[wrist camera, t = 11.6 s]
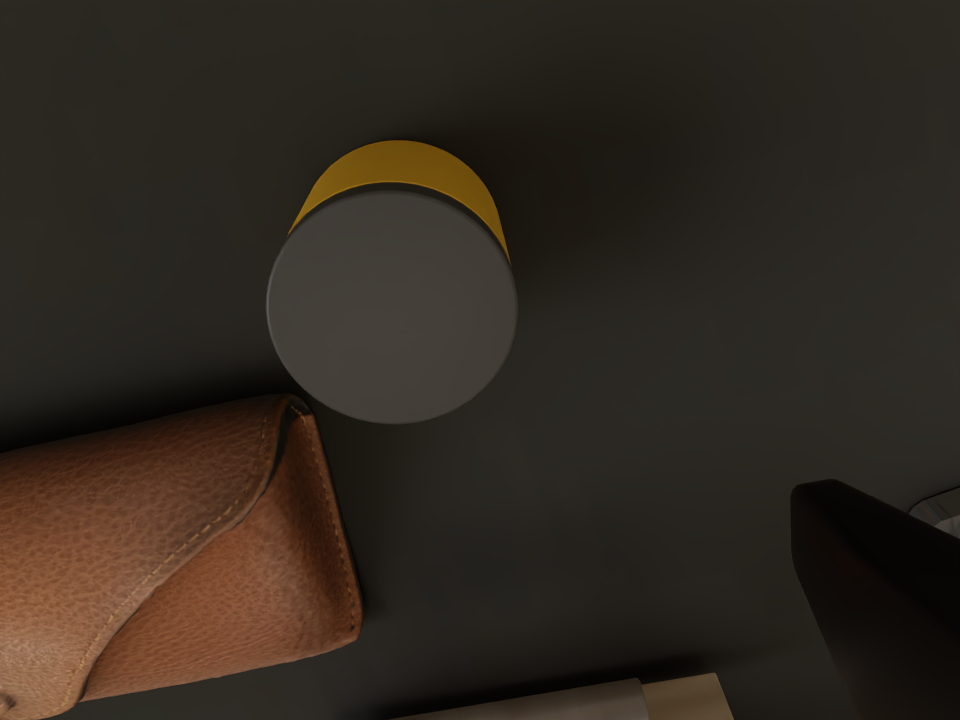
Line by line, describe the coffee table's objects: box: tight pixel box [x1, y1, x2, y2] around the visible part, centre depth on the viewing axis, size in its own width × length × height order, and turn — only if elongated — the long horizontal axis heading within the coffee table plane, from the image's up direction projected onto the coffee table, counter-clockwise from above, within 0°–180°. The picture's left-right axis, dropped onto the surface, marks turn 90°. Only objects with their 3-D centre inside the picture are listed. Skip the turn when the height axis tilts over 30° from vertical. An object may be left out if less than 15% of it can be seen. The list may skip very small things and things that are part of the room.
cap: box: [265, 140, 519, 424], centre depth 17 cm, size 5×5×4 cm
